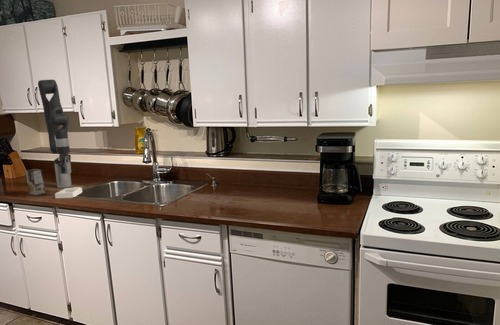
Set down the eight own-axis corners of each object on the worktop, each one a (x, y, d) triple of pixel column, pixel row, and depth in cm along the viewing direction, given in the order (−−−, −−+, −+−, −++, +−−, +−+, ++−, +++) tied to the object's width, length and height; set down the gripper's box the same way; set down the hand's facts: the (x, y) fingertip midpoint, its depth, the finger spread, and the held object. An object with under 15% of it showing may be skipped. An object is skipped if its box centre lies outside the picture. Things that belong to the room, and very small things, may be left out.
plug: (63, 172, 241) (62, 162, 240) (71, 172, 241) (70, 161, 240) (59, 174, 236) (58, 163, 235) (67, 173, 236) (66, 163, 235)
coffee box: (45, 193, 250) (42, 169, 248) (36, 195, 245) (32, 171, 242) (37, 191, 255) (34, 168, 252) (28, 193, 249) (25, 170, 247)
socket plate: (65, 192, 249) (65, 187, 249) (82, 192, 250) (81, 186, 249) (55, 198, 236) (54, 192, 235) (73, 197, 236) (72, 192, 235)
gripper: (62, 144, 243) (64, 170, 246) (50, 147, 229) (54, 174, 232) (73, 144, 243) (76, 169, 246) (63, 146, 229) (66, 174, 232)
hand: (65, 171), depth 239 cm, fingers closed on plug, 5 cm apart
